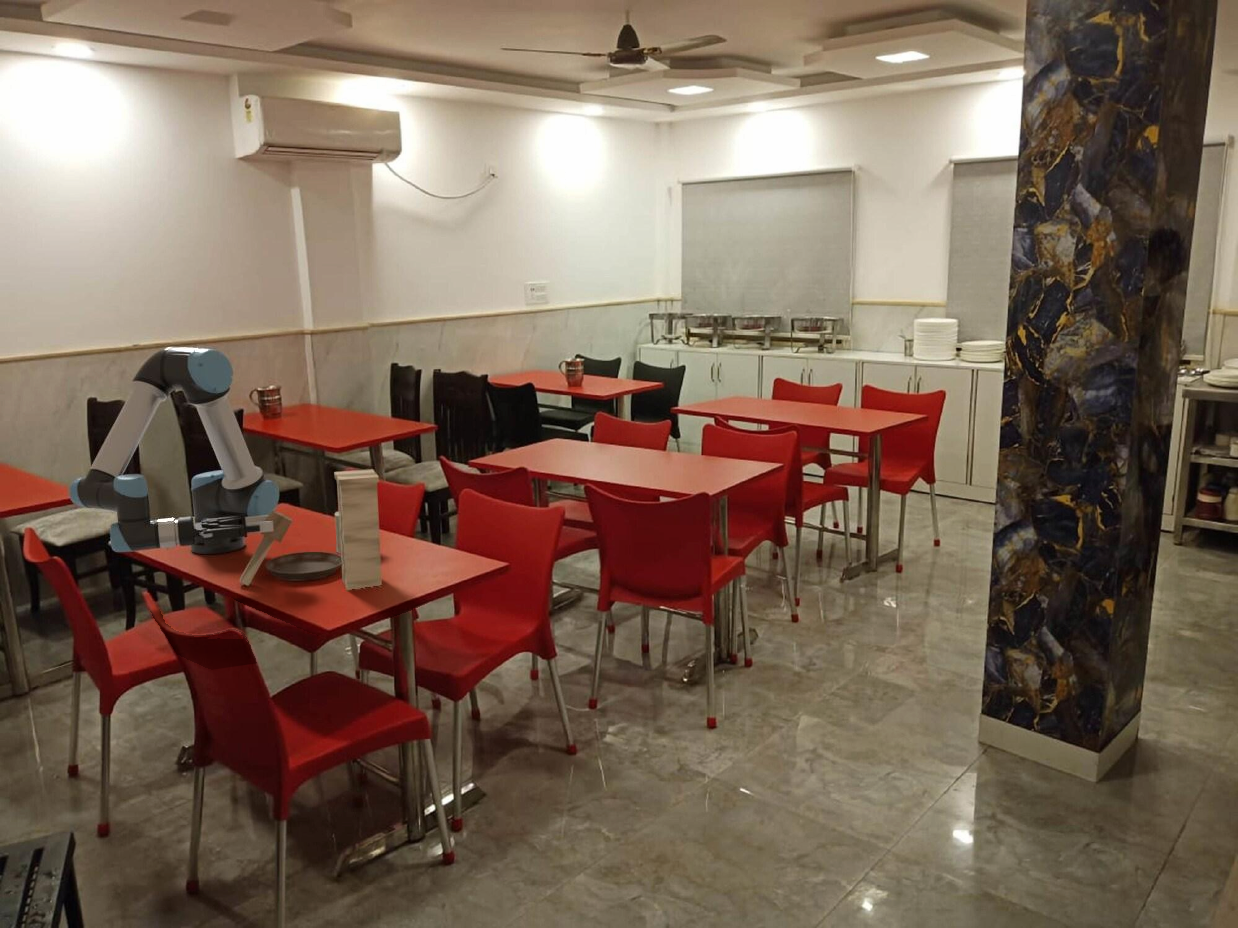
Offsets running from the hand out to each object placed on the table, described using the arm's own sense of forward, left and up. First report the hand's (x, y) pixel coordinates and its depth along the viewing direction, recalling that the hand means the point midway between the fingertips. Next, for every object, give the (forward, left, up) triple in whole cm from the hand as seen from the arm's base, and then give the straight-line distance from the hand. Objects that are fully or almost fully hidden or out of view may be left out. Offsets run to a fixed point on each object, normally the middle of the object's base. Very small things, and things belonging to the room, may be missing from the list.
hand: (272, 522), depth 264 cm
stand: (+11, +21, -16) cm, 29 cm away
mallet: (+1, 0, -8) cm, 8 cm away
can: (-21, +23, -16) cm, 35 cm away
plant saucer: (-5, +8, -17) cm, 19 cm away
